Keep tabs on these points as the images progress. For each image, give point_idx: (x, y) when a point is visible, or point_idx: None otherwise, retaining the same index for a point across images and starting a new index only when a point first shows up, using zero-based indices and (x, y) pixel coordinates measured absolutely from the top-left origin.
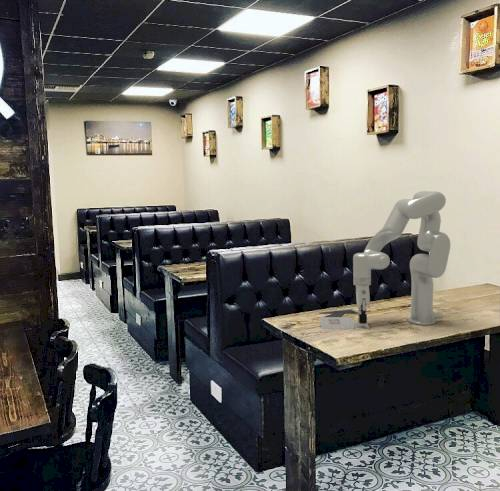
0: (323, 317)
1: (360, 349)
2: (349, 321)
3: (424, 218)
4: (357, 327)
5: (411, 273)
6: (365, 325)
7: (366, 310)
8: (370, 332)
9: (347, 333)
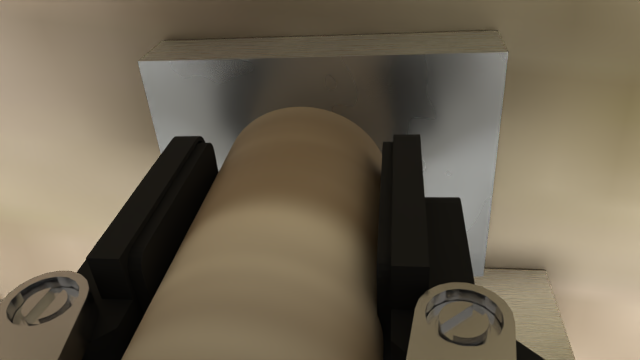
0: None
1: None
2: None
3: None
4: (472, 250)
5: None
6: (334, 110)
7: (268, 325)
8: (586, 20)
9: (588, 341)
